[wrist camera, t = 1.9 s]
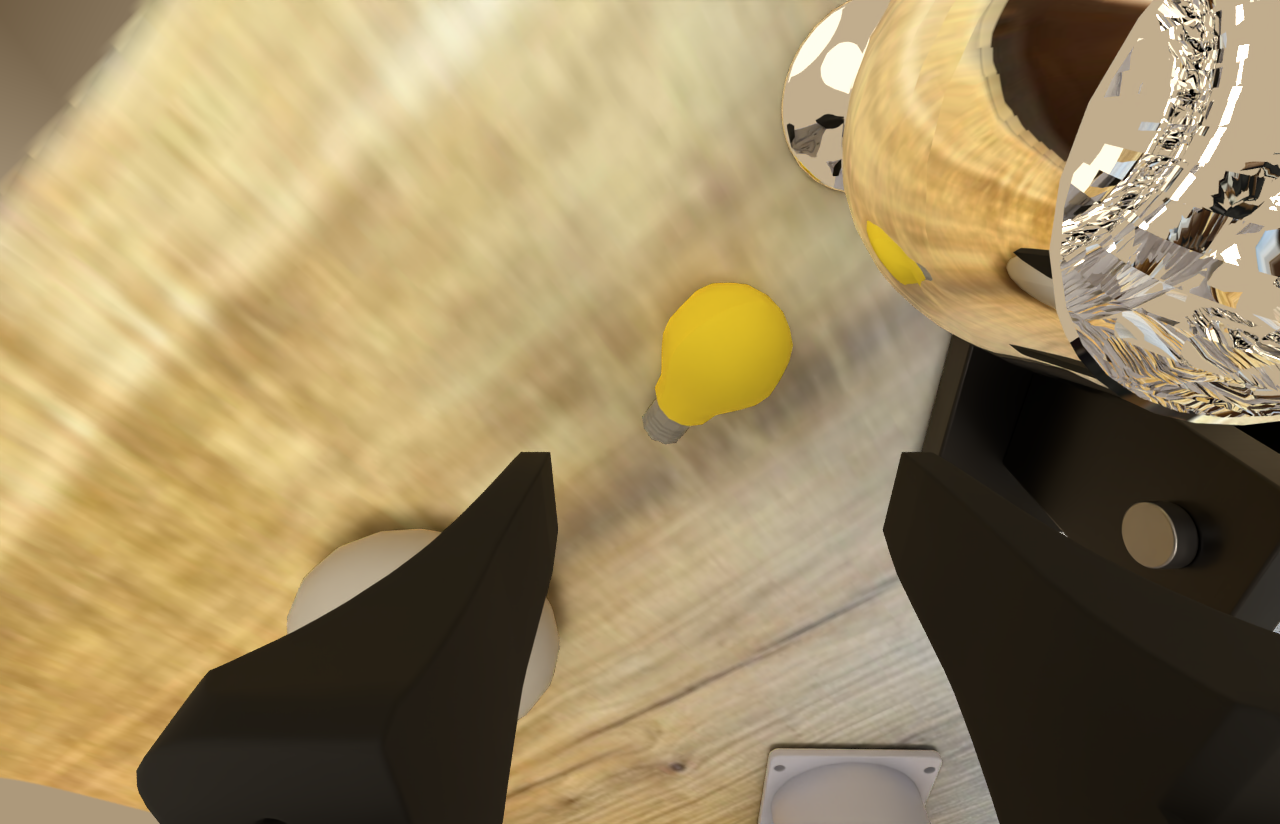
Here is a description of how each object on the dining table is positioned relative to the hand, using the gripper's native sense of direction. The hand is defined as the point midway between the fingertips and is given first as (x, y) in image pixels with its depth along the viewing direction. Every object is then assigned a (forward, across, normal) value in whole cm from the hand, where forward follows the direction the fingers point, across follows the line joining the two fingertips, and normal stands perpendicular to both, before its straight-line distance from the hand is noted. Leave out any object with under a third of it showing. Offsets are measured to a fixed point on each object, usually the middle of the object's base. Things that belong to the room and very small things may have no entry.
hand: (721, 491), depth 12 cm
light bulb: (+7, 0, 0) cm, 7 cm away
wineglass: (+7, -4, -7) cm, 11 cm away
